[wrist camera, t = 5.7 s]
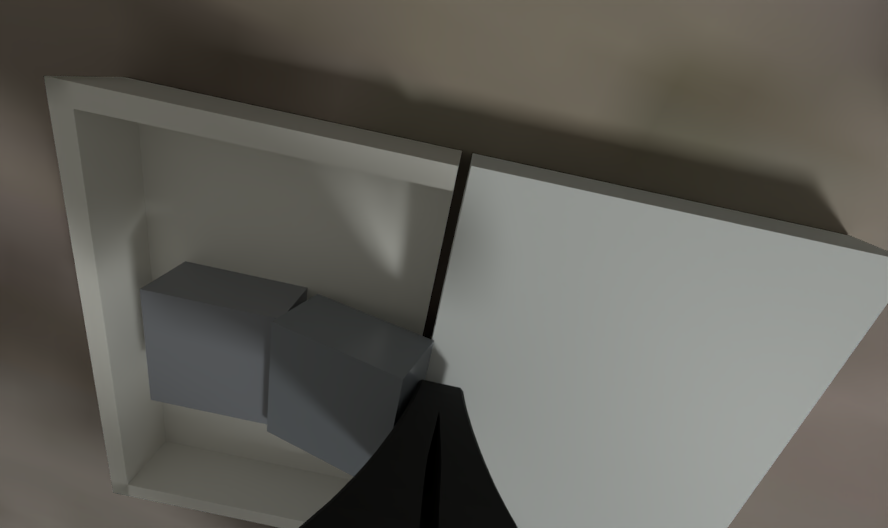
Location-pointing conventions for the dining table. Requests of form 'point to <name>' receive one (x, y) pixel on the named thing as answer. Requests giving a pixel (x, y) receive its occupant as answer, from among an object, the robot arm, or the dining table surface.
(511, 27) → the dining table surface
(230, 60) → the dining table surface
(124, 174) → the tray
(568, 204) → the board
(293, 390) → the tile front
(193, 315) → the tile rear
